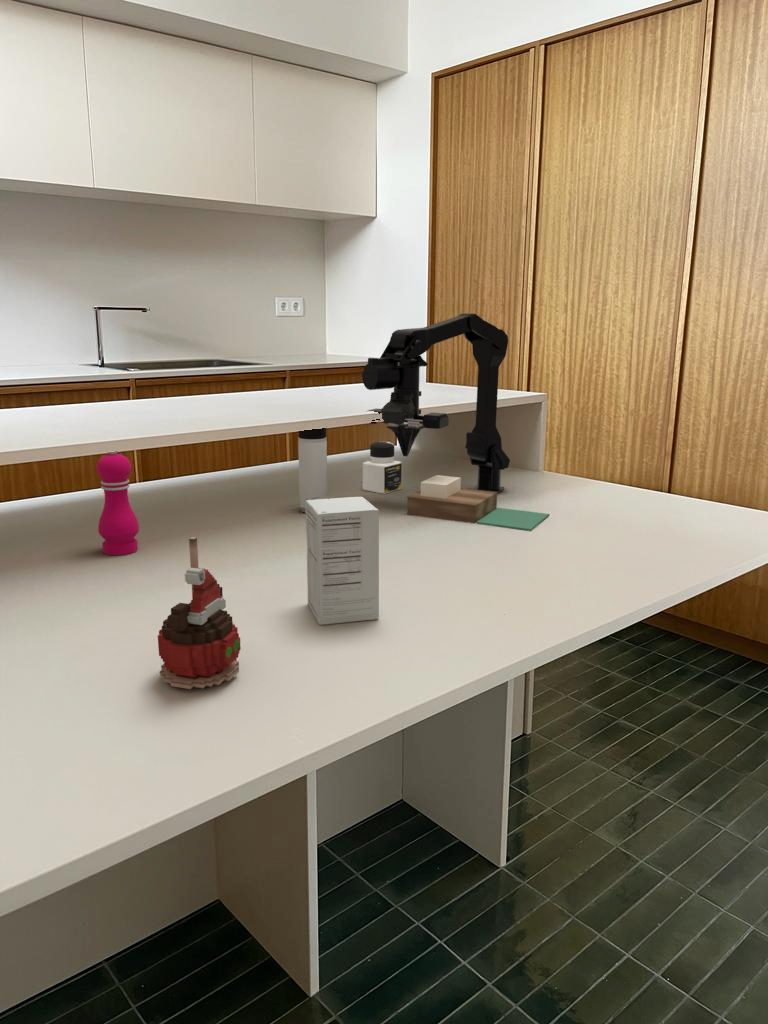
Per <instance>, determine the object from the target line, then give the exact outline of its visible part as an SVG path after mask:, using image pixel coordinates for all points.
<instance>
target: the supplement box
mask: <svg viewBox="0 0 768 1024" xmlns="http://www.w3.org/2000/svg"><path fill="white" fill-rule="evenodd" d="M305 529H306V531H305V533H306V573H307V574H306V576H307V605H308V607H309V609H310V611H311V612H312V614H313V615H314V617H315V619H316V620H317V623H318V625H321V626H325V625H331V624H341V623H342V624H343V623H352V622H361V621H362V622H363V621H370V620H371V621H372V620H379V618H380V511H379V509H378V508H377V507H375V506H374V505H373V504H372V503H370V502H369V501H368V500H367V499H365V497H363V496H349V497H348V496H347V497H336V498H334V497H332V498H331V497H330V498H327V499H315V500H306V513H305Z"/></svg>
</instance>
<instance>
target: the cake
mask: <svg viewBox="0 0 768 1024" xmlns="http://www.w3.org/2000/svg"><path fill="white" fill-rule="evenodd" d="M188 542H189V543H188V544H189V545H188V546H189V562H190V567H189V568H188V569H186V570H185V572H186V573H184V580H185V583H186V584H188V585H191V597H192V599H191V600H190V602H189V603H186V602H179V603H177V604H175V605H173V606H172V607H171V608H170V614H169V615H167V618H166V619H164V620H163V621H162V625H161V629H159V630H158V635H157V642H158V643H157V645H158V647H157V648H158V656H159V657H160V659H161V660H162V663H163V664H161V666H160V668H161V669H160V670H159V673H160V674H159V675H160V677H161V679H162V680H163V682H164V683H169V684H170V687H174V688H175V687H176V688H182V689H188V690H192V689H193V688H194V687H195V688H199V689H205V687H213V685H216V686H219V685H220V684H222V682H224V681H231V680H232V679H233V678H234V677H235V676H236V675H237V674H238V673H239V672H240V662H239V661H238V660H237V659H238V658H239V654H240V651H241V649H242V648H241V637H240V635H239V632H238V631H239V630H238V626H236V624H235V623H234V622H233V616H231V614H230V613H228V610H224V609H226V607H227V605H226V604H227V603H226V599H225V598H224V595H223V586H220V583H218V581H217V579H216V578H215V577H214V576H213V574H212V573H211V572H210V571H209V569H206V568H202V567H201V568H200V567H199V551H198V550H199V549H198V538H197V537H195V536H191V537H190V538H188Z"/></svg>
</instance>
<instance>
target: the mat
mask: <svg viewBox="0 0 768 1024" xmlns="http://www.w3.org/2000/svg"><path fill="white" fill-rule="evenodd" d="M549 516H550V513H544V512H538V511H537V512H535V511H528V510H522V509H521V510H520V509H512V508H506V507H505V508H504V507H503V508H502V507H497V508H496V509H495V510H493V511H492V512H490V513H489V514H487V515H486V516H484V517H483V518H481V519H480V520H478V521H477V522H476V523H477V524H476V523H475V524H476V525H484V526H491V527H497V528H506V529H511V530H513V529H514V530H521V531H526V532H527V531H529V532H532V531H533V530H534V529H535V528H537V526H539V525H540V524H541V523H542V522H544V521H545V520H546V519H547V518H549Z"/></svg>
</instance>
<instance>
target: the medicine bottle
mask: <svg viewBox="0 0 768 1024" xmlns="http://www.w3.org/2000/svg"><path fill="white" fill-rule="evenodd" d="M369 447H370V448H369V452H370V453H369V454H370V455H369V458H370V460H367V461H365V462H363V463H362V490H363V491H367V492H372V493H378V494H384V495H385V494H388V493H393V492H396V491H400V490H402V463H403V462H402V461H399V460H395V445H394V443H392V442H389V441H374V442H373V443H371V444H370V446H369Z"/></svg>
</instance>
